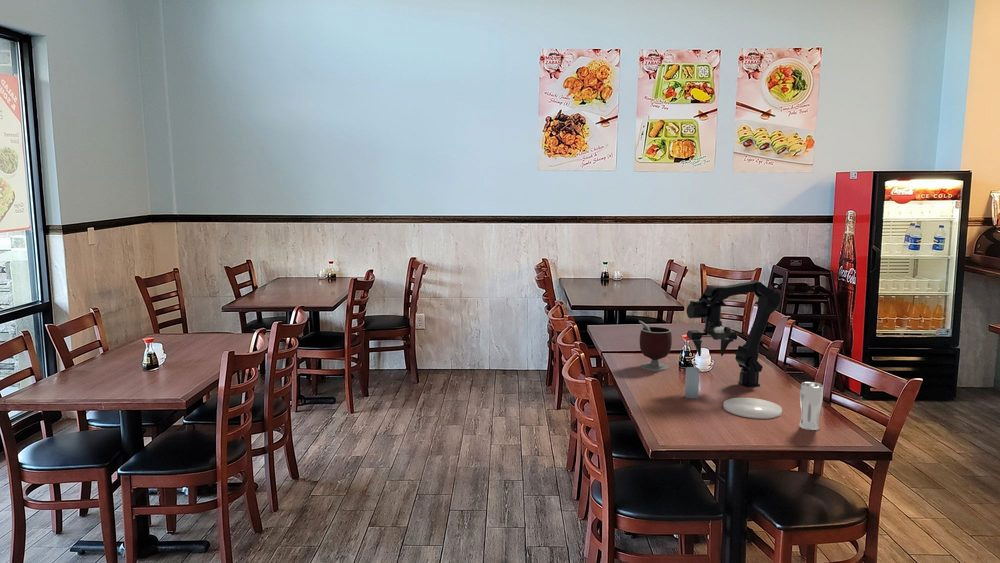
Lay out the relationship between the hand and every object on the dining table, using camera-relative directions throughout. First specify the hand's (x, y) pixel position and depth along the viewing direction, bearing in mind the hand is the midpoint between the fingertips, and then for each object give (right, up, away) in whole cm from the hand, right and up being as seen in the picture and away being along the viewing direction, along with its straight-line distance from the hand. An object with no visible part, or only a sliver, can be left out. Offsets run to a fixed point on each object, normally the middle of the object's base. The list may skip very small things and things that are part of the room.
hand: (710, 356), depth 278 cm
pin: (-10, -15, -10) cm, 21 cm away
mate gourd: (-16, -9, +32) cm, 37 cm away
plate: (+8, -17, -25) cm, 31 cm away
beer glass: (+20, -20, -43) cm, 52 cm away
